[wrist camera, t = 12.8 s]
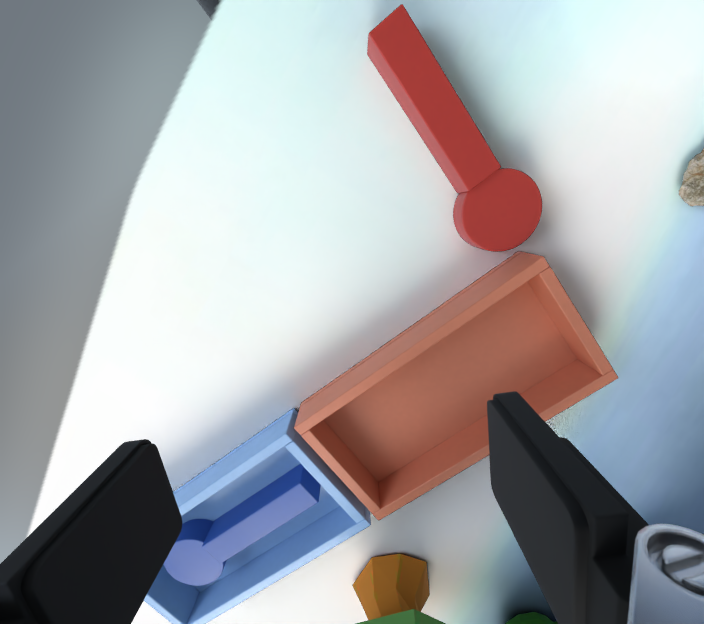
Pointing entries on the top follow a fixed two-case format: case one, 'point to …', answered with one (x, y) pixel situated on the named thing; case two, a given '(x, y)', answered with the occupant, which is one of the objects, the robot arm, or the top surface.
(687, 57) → the top surface
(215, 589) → the blue bin
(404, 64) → the red spoon
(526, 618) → the bell pepper
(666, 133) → the top surface
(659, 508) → the top surface
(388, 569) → the decorative tree
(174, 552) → the blue spoon
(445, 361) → the red bin
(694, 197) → the stone tool
